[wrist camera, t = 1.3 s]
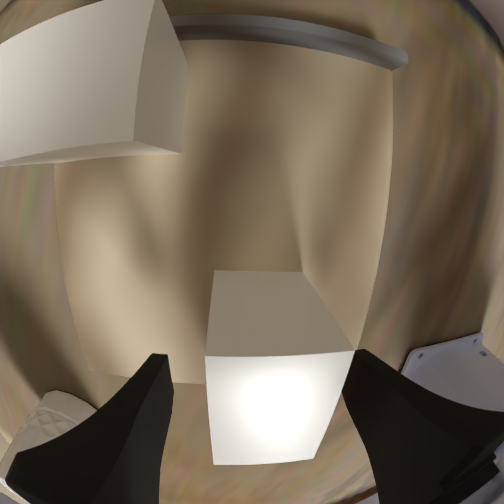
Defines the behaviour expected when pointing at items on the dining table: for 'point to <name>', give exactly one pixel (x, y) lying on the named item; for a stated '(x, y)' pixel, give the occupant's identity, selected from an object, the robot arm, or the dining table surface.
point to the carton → (271, 367)
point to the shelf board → (234, 191)
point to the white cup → (46, 426)
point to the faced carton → (93, 85)
